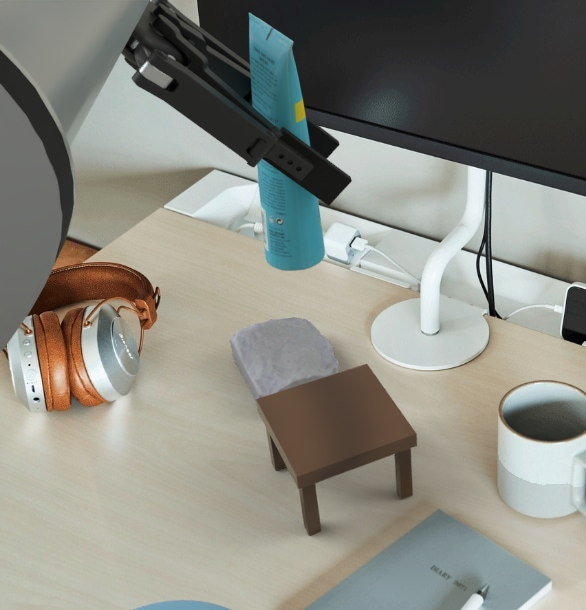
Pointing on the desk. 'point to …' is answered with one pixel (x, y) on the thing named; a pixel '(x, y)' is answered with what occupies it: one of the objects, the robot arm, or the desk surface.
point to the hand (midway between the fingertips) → (333, 171)
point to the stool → (336, 433)
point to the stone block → (282, 355)
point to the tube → (272, 183)
